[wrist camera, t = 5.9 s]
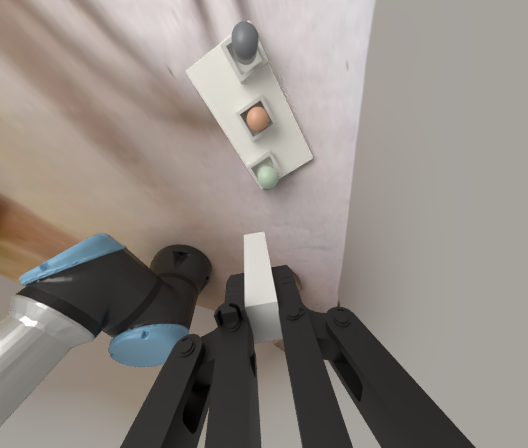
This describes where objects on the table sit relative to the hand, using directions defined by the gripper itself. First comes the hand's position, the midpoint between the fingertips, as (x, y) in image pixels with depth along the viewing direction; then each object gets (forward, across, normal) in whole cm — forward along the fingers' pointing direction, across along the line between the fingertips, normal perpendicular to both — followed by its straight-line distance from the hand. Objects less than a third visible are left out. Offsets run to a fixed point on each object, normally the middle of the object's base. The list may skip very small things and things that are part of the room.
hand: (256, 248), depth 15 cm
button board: (+32, +3, +9) cm, 33 cm away
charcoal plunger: (+28, +3, +18) cm, 33 cm away
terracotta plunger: (+30, +3, +9) cm, 32 cm away
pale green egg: (+28, +3, -1) cm, 28 cm away
